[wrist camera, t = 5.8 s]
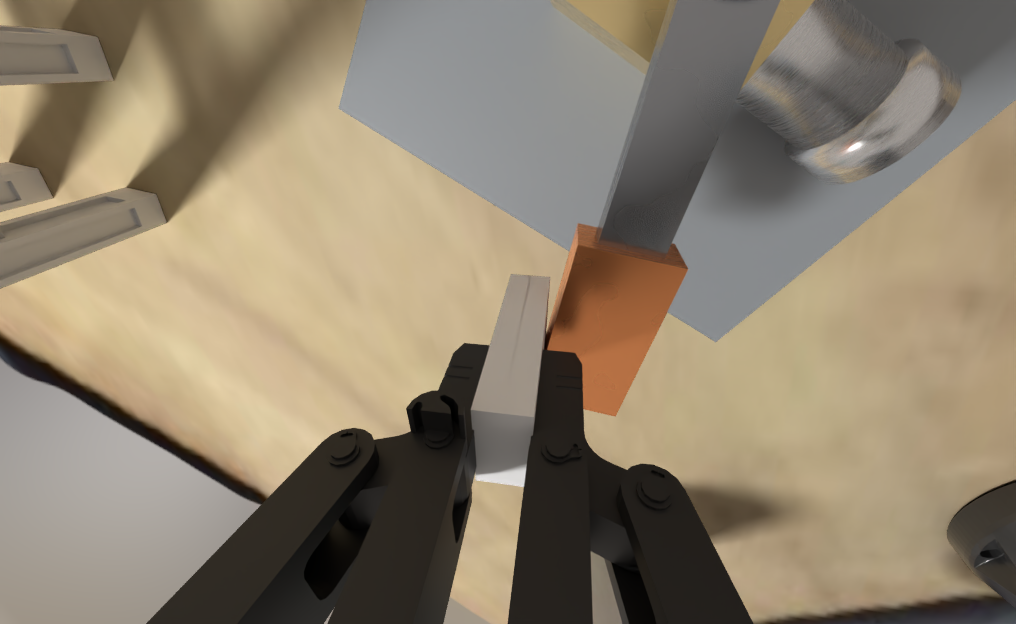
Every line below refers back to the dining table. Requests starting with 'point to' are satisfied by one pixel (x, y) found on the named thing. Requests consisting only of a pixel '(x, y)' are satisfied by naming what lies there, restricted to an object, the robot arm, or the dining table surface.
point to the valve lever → (653, 194)
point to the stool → (3, 186)
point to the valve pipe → (812, 80)
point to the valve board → (607, 117)
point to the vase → (603, 593)
